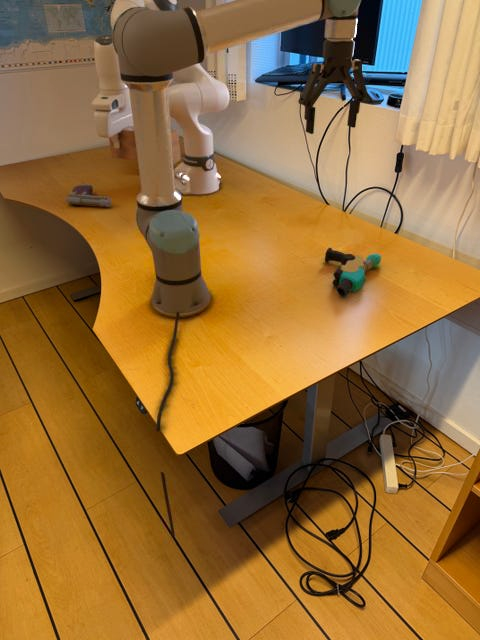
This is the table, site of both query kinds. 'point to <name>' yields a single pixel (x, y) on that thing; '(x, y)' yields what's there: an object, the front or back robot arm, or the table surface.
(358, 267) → the toy gun
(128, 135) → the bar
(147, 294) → the table surface
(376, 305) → the table surface
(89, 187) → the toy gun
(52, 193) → the table surface
